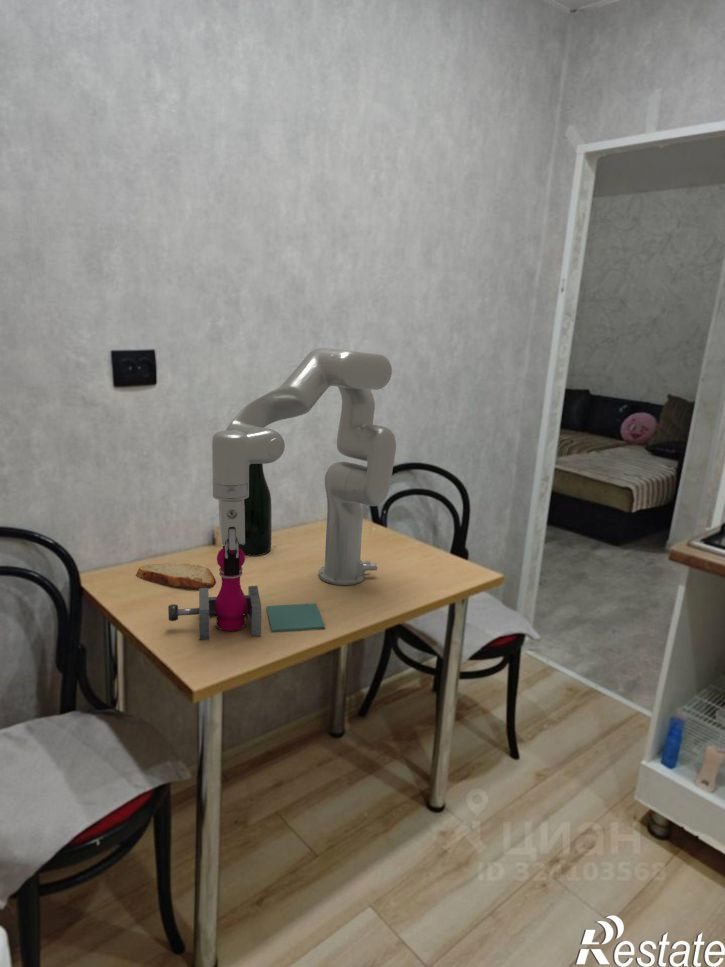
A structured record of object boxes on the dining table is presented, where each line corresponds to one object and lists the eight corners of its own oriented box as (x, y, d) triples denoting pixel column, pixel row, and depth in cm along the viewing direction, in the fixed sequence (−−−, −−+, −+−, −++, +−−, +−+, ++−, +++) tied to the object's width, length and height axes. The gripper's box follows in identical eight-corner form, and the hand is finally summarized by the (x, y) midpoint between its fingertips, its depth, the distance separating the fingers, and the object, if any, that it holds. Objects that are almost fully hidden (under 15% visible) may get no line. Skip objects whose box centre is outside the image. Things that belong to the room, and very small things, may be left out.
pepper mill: (214, 633, 140) (213, 546, 135) (214, 617, 147) (214, 535, 141) (247, 631, 141) (248, 546, 136) (246, 616, 148) (247, 534, 143)
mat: (315, 605, 156) (316, 603, 156) (325, 628, 145) (325, 626, 145) (266, 608, 153) (266, 605, 153) (271, 632, 142) (271, 629, 142)
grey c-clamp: (256, 610, 152) (256, 583, 150) (260, 636, 140) (261, 606, 138) (170, 615, 147) (169, 586, 145) (167, 641, 135) (167, 611, 134)
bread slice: (133, 572, 170) (133, 559, 169) (201, 563, 179) (201, 551, 178) (146, 600, 155) (146, 585, 154) (220, 589, 163) (220, 575, 162)
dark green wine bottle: (245, 558, 183) (246, 445, 175) (229, 547, 191) (230, 438, 183) (277, 552, 189) (280, 442, 181) (261, 541, 197) (263, 435, 189)
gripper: (252, 501, 129) (251, 584, 133) (246, 478, 145) (245, 553, 150) (213, 501, 127) (214, 586, 132) (211, 479, 143) (212, 554, 148)
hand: (230, 567), depth 141 cm, fingers closed on pepper mill, 6 cm apart
